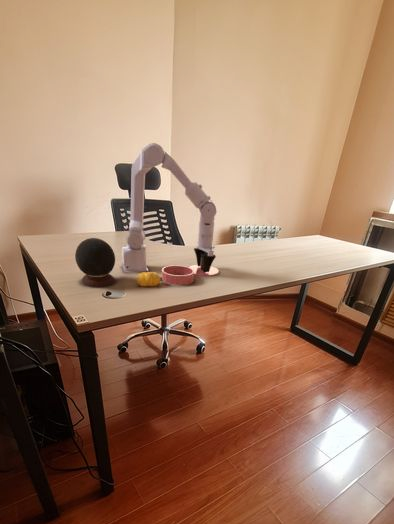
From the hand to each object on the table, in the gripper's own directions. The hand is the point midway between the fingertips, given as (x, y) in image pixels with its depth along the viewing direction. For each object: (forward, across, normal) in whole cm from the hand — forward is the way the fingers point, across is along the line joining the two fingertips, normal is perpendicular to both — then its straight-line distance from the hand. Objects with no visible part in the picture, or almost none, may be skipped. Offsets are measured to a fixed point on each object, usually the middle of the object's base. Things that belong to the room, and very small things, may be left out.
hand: (203, 268), depth 125 cm
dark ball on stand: (+2, -5, +42) cm, 42 cm away
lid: (+1, 0, 0) cm, 1 cm away
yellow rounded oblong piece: (+1, -12, +25) cm, 28 cm away
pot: (+2, -8, +13) cm, 15 cm away
